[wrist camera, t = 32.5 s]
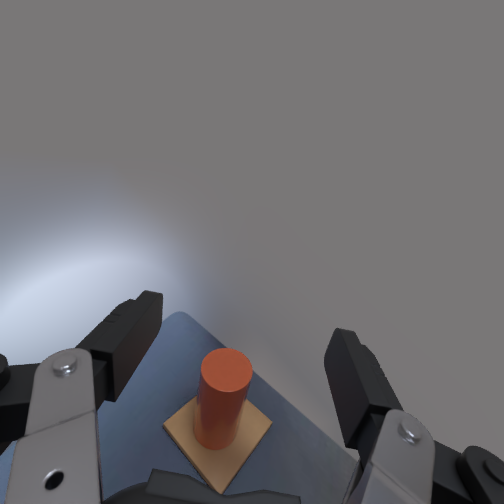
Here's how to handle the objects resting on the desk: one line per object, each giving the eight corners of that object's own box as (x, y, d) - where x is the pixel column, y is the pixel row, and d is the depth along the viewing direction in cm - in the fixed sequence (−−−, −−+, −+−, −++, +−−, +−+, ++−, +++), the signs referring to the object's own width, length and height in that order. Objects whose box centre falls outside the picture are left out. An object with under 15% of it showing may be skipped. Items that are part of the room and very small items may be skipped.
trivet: (219, 378, 37) (220, 375, 37) (271, 425, 32) (272, 421, 32) (162, 427, 30) (163, 423, 29) (219, 499, 25) (220, 495, 24)
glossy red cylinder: (239, 404, 33) (252, 351, 30) (237, 452, 28) (253, 394, 24) (198, 400, 33) (205, 344, 29) (188, 447, 28) (196, 388, 24)
